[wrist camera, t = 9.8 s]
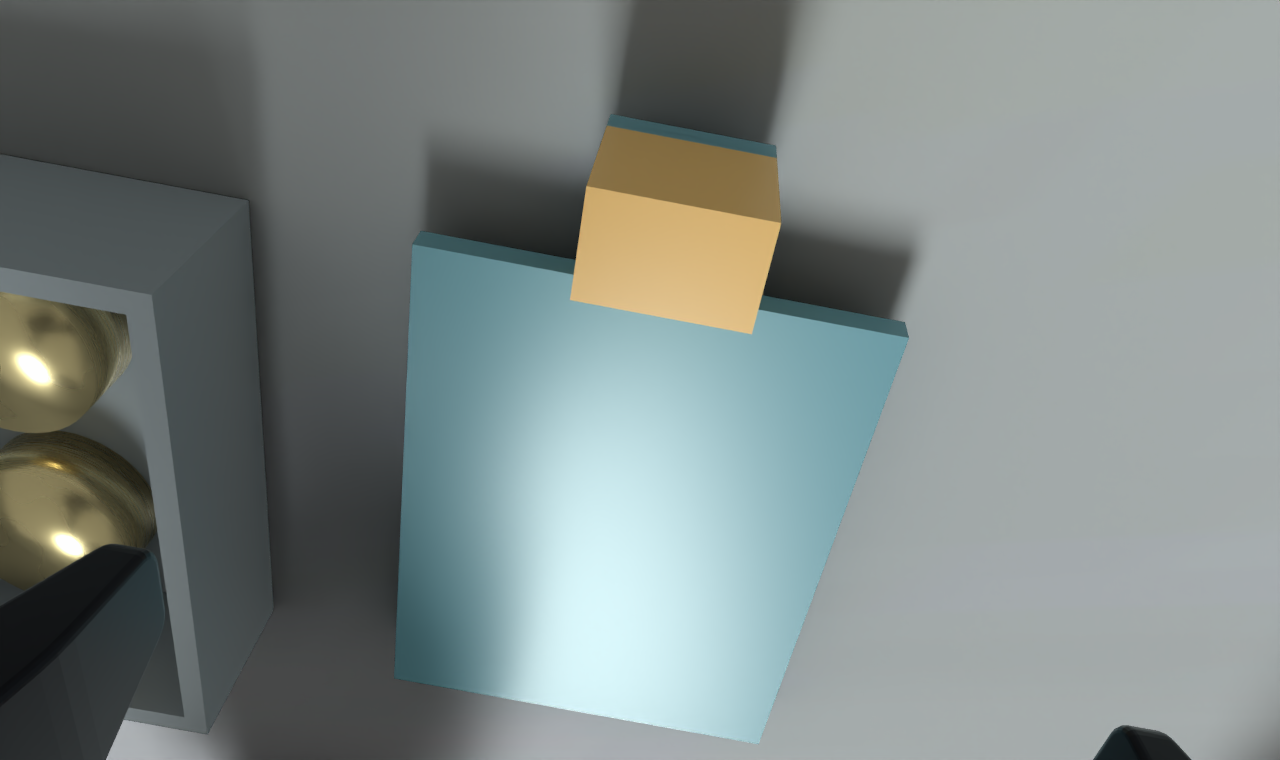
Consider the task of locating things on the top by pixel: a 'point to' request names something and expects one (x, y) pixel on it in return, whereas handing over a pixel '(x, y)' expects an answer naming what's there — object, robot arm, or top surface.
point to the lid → (629, 447)
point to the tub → (165, 400)
